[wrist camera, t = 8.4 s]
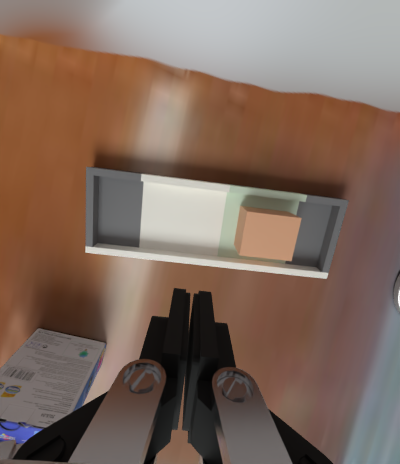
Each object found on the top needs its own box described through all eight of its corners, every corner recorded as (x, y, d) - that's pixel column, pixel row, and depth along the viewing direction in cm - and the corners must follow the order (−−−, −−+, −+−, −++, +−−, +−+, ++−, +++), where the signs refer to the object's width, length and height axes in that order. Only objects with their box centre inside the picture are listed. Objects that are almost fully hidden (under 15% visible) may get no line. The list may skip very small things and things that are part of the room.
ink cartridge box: (32, 358, 36) (-73, 483, 22) (36, 326, 34) (-73, 437, 20) (100, 372, 36) (42, 500, 22) (107, 341, 35) (50, 457, 21)
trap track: (338, 198, 31) (348, 200, 29) (318, 272, 33) (326, 278, 31) (93, 166, 29) (86, 166, 27) (92, 247, 31) (85, 252, 29)
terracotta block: (287, 211, 30) (301, 218, 27) (279, 249, 32) (291, 261, 28) (240, 205, 30) (247, 211, 26) (233, 244, 31) (239, 255, 27)
